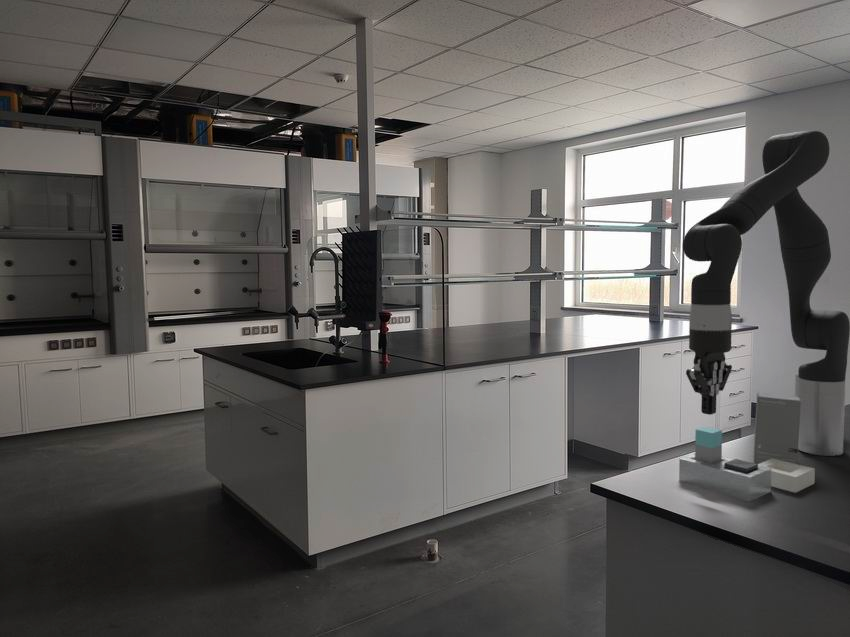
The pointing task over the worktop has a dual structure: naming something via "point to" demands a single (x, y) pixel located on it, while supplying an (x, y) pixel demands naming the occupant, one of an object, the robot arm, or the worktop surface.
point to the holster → (789, 475)
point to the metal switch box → (727, 477)
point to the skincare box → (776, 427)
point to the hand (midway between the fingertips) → (708, 413)
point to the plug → (708, 445)
